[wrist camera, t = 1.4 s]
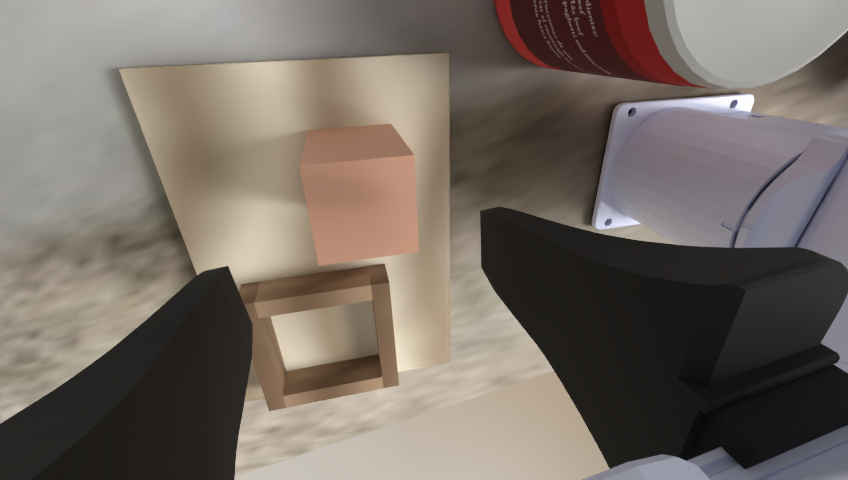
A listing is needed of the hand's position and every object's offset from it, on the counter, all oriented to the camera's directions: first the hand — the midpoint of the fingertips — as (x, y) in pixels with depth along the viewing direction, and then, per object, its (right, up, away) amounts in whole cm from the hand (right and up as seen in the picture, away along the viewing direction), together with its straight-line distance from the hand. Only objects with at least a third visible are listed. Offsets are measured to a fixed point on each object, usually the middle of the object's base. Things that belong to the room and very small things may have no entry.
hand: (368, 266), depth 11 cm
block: (-2, +4, +8) cm, 10 cm away
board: (-4, 0, +11) cm, 12 cm away
